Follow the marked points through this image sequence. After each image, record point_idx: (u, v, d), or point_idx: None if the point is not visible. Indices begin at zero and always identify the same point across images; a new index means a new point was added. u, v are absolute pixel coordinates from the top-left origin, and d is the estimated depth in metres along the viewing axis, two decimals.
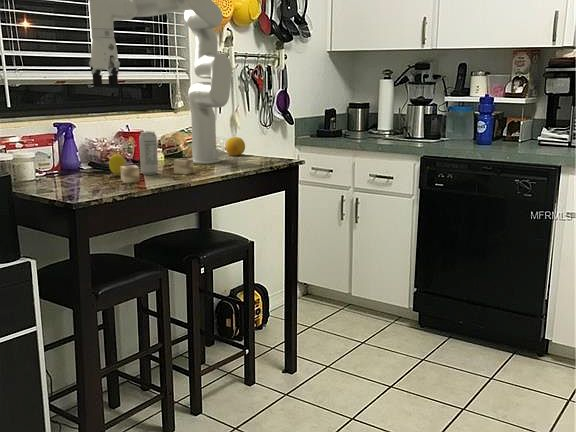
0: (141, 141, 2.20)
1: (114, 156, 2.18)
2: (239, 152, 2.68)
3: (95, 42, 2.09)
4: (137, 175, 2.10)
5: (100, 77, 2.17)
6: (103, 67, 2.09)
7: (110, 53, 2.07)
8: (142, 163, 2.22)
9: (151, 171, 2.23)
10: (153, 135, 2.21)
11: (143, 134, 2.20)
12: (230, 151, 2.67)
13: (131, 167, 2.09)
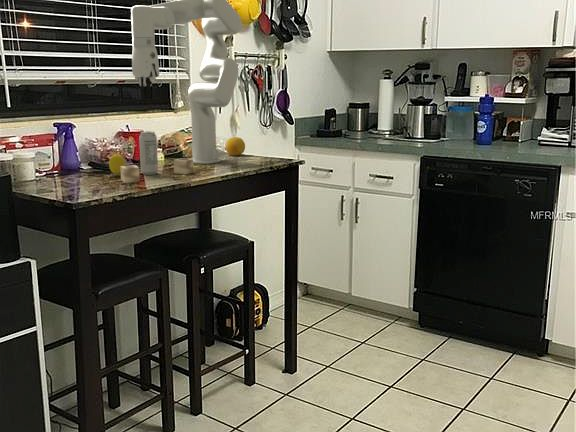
0: (141, 141, 2.20)
1: (114, 156, 2.18)
2: (239, 152, 2.68)
3: (136, 51, 2.14)
4: (137, 175, 2.10)
5: None
6: (144, 75, 2.14)
7: (152, 61, 2.13)
8: (142, 163, 2.22)
9: (151, 171, 2.23)
10: (153, 135, 2.21)
11: (143, 134, 2.20)
12: (230, 151, 2.67)
13: (131, 167, 2.09)
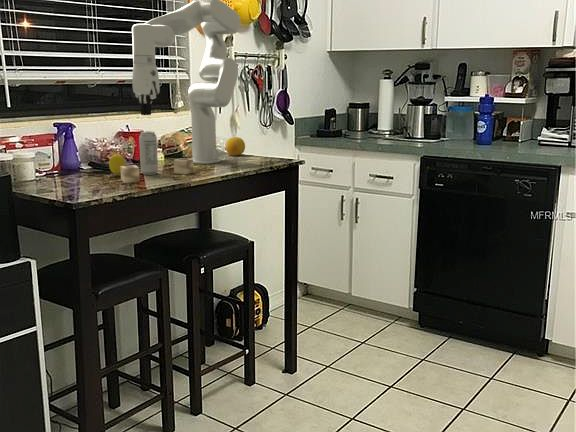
0: (141, 141, 2.20)
1: (114, 156, 2.18)
2: (239, 152, 2.68)
3: (137, 68, 2.15)
4: (137, 175, 2.10)
5: None
6: (145, 92, 2.15)
7: (152, 79, 2.14)
8: (142, 163, 2.22)
9: (151, 171, 2.23)
10: (153, 135, 2.21)
11: (143, 134, 2.20)
12: (230, 151, 2.67)
13: (131, 167, 2.09)
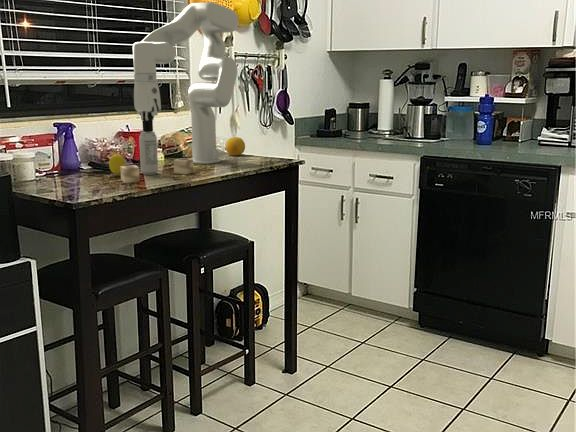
0: (141, 141, 2.20)
1: (114, 156, 2.18)
2: (239, 152, 2.68)
3: (138, 86, 2.17)
4: (137, 175, 2.10)
5: None
6: (146, 110, 2.17)
7: (153, 97, 2.16)
8: (142, 163, 2.22)
9: (151, 171, 2.23)
10: (153, 135, 2.21)
11: (143, 134, 2.20)
12: (230, 151, 2.67)
13: (131, 167, 2.09)
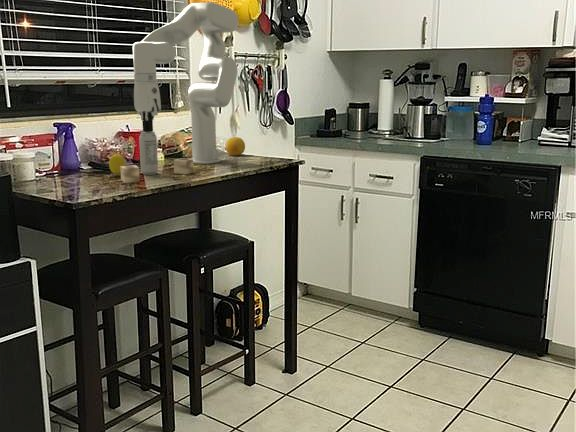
0: (141, 141, 2.20)
1: (114, 156, 2.18)
2: (239, 152, 2.68)
3: (138, 86, 2.17)
4: (137, 175, 2.10)
5: None
6: (146, 110, 2.17)
7: (153, 97, 2.16)
8: (142, 163, 2.22)
9: (151, 171, 2.23)
10: (153, 135, 2.21)
11: (143, 134, 2.20)
12: (230, 151, 2.67)
13: (131, 167, 2.09)
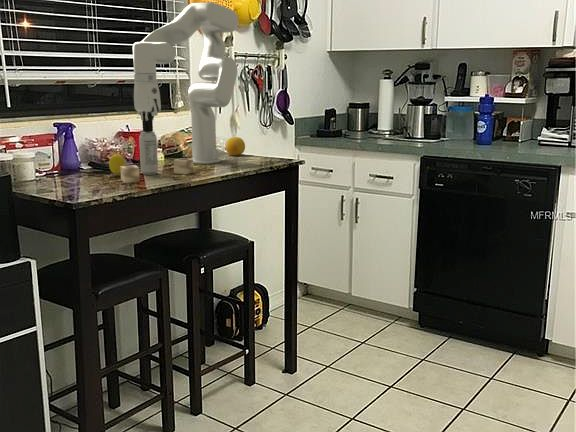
0: (141, 141, 2.20)
1: (114, 156, 2.18)
2: (239, 152, 2.68)
3: (138, 86, 2.17)
4: (137, 175, 2.10)
5: None
6: (146, 110, 2.17)
7: (153, 97, 2.15)
8: (142, 163, 2.22)
9: (151, 171, 2.23)
10: (153, 135, 2.21)
11: (143, 134, 2.20)
12: (230, 151, 2.67)
13: (131, 167, 2.09)
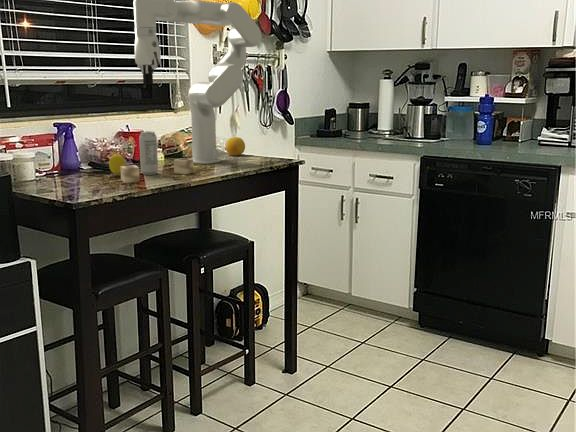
0: (141, 141, 2.20)
1: (114, 156, 2.18)
2: (239, 152, 2.68)
3: (139, 40, 2.26)
4: (137, 175, 2.10)
5: None
6: (147, 63, 2.26)
7: (153, 50, 2.25)
8: (142, 163, 2.22)
9: (151, 171, 2.23)
10: (153, 135, 2.21)
11: (143, 134, 2.20)
12: (230, 151, 2.67)
13: (131, 167, 2.09)
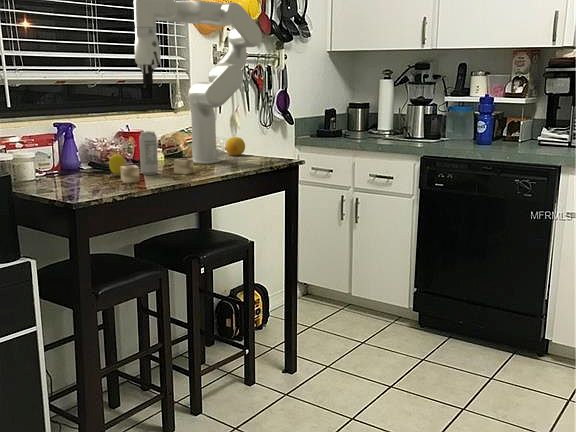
0: (141, 141, 2.20)
1: (114, 156, 2.18)
2: (239, 152, 2.68)
3: (139, 40, 2.27)
4: (137, 175, 2.10)
5: None
6: (147, 62, 2.27)
7: (153, 50, 2.25)
8: (142, 163, 2.22)
9: (151, 171, 2.23)
10: (153, 135, 2.21)
11: (143, 134, 2.20)
12: (230, 151, 2.67)
13: (131, 167, 2.09)
